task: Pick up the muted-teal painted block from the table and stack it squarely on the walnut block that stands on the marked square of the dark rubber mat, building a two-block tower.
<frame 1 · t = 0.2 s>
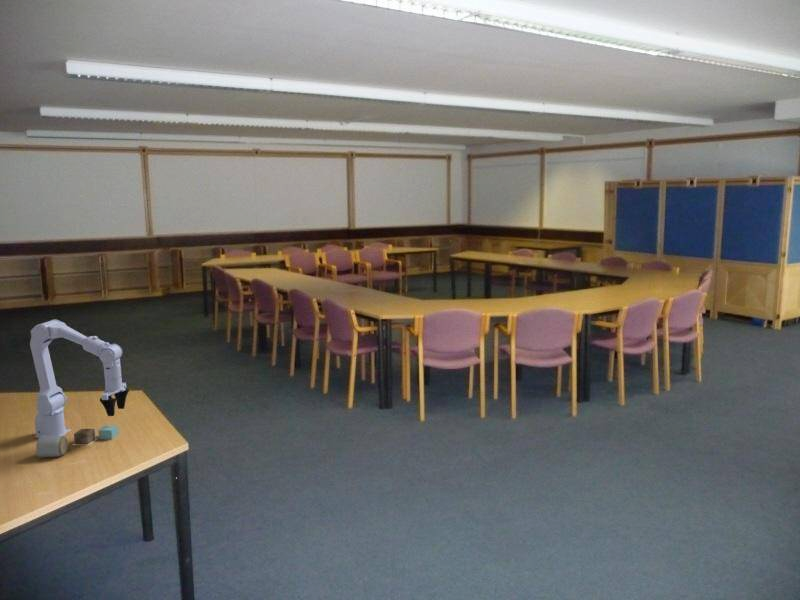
hand: (116, 412, 239), 10 cm above the table, fingers open, 7 cm apart
walnut block: (85, 441, 235), resting on mat
ceramic mug: (54, 455, 225), on the table
mat: (81, 442, 236), on the table
teal block: (109, 437, 240), on the table
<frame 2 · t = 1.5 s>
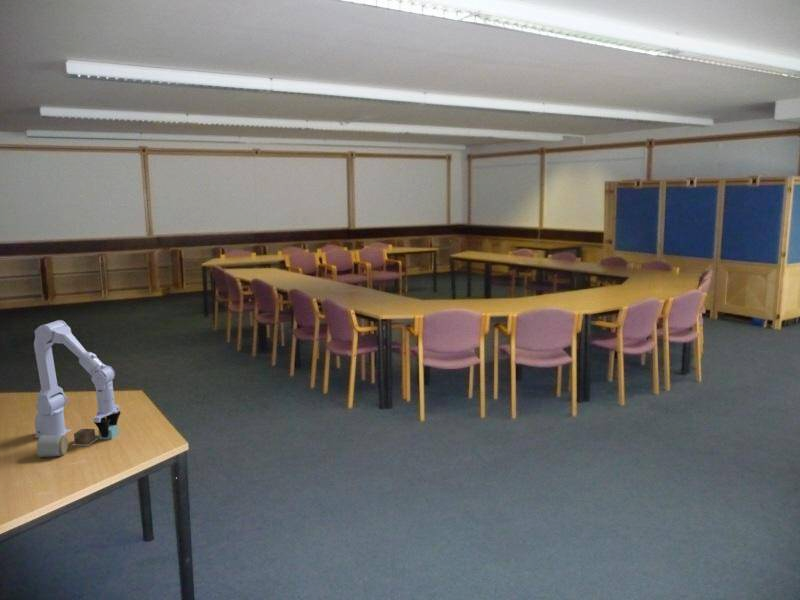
hand: (108, 433, 240), 1 cm above the table, fingers closed on teal block, 5 cm apart
teal block: (109, 437, 240), on the table, touching gripper
everything else where it was.
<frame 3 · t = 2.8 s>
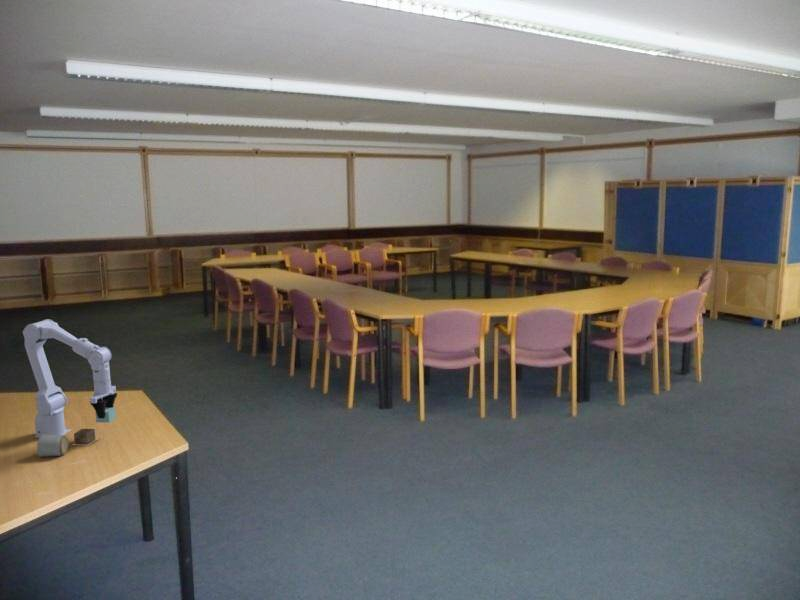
hand: (105, 415, 238), 9 cm above the table, fingers closed on teal block, 5 cm apart
teal block: (106, 419, 238), point 7 cm above the table, touching gripper
everything else where it was.
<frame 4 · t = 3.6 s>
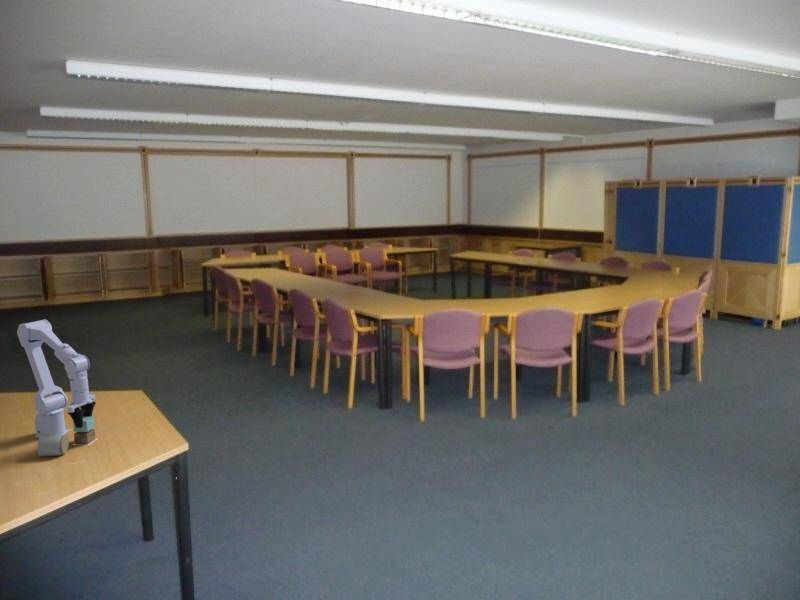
hand: (83, 424, 234), 7 cm above the table, fingers closed on teal block, 5 cm apart
teal block: (84, 429, 234), point 5 cm above the table, touching gripper
everything else where it was.
when the fingers open (7 cm above the table, at t = 4.1 s): teal block stays where it is, resting on walnut block.
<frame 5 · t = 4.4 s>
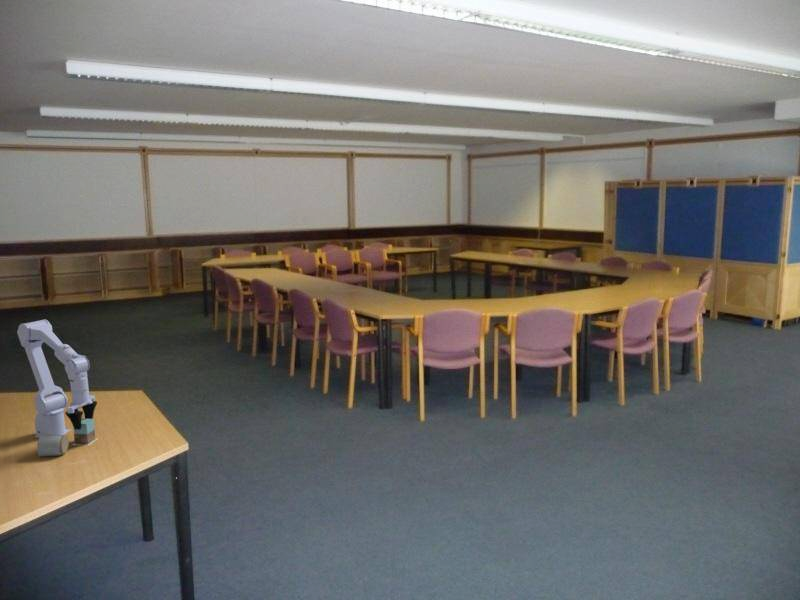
hand: (83, 425, 234), 7 cm above the table, fingers open, 7 cm apart
walnut block: (85, 441, 235), resting on mat, touching teal block
teal block: (84, 431, 235), point 4 cm above the table, touching walnut block
everything else where it was.
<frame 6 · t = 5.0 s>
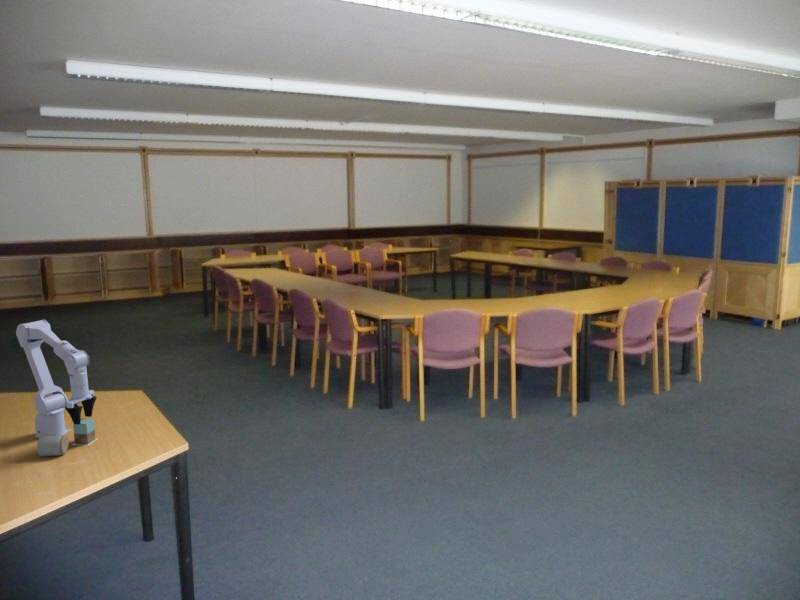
hand: (82, 420, 234), 9 cm above the table, fingers open, 7 cm apart
nothing on the table moved.
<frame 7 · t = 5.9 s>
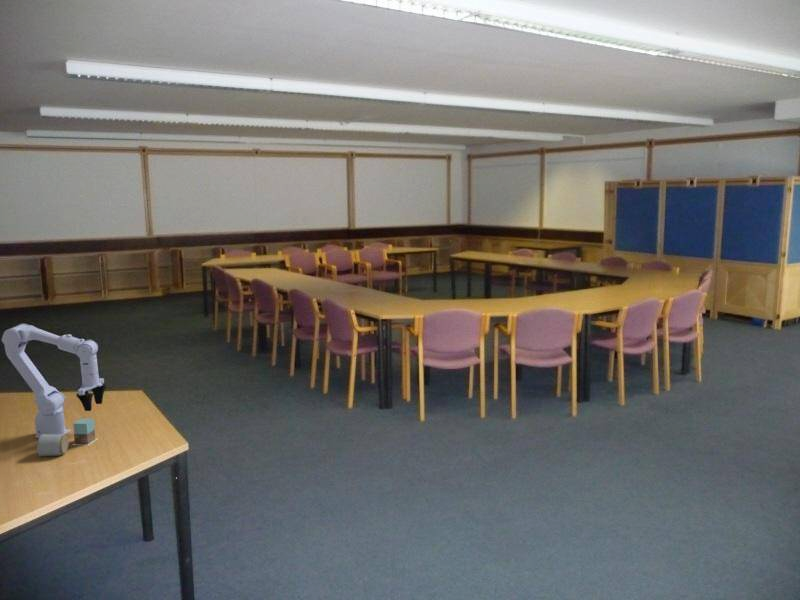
hand: (93, 407, 242), 10 cm above the table, fingers open, 7 cm apart
nothing on the table moved.
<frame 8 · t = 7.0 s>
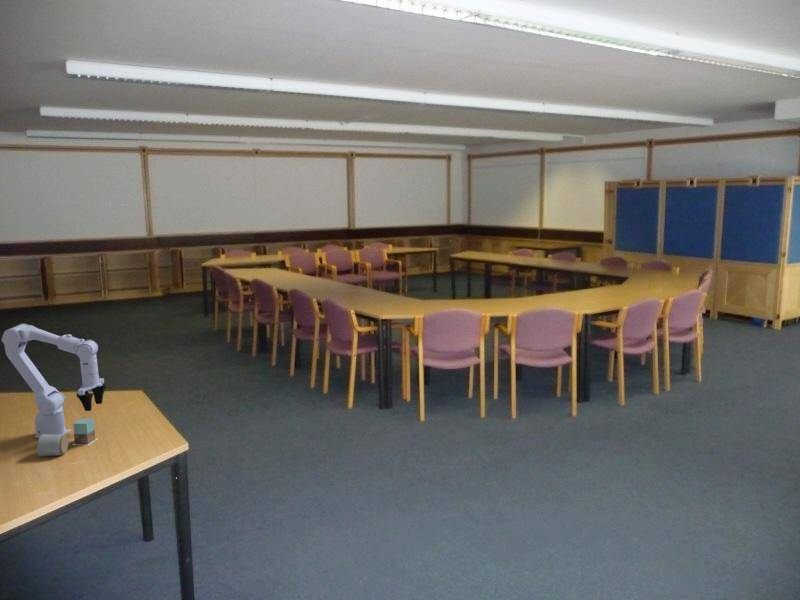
hand: (93, 407, 242), 10 cm above the table, fingers open, 7 cm apart
nothing on the table moved.
at the end: teal block 0.2 cm off-centre on the walnut block, point 4.0 cm above the walnut block's base; teal block tilted 0°; walnut block moved 0.0 cm from its start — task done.
